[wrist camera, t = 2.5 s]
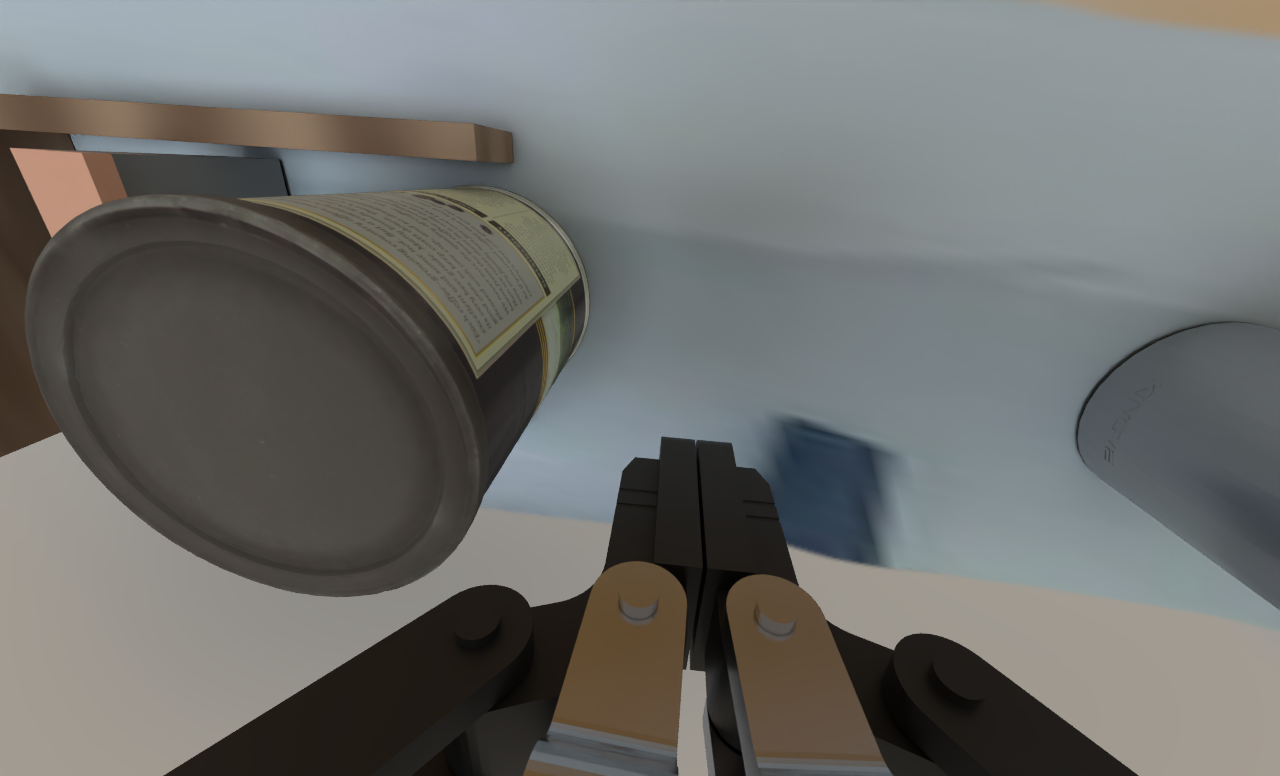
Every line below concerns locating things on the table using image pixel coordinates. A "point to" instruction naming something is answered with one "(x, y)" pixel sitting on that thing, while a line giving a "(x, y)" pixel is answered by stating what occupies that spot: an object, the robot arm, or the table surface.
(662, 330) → the table surface
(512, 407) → the coffee can
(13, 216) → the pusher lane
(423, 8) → the table surface
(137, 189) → the pusher paddle
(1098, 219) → the table surface
